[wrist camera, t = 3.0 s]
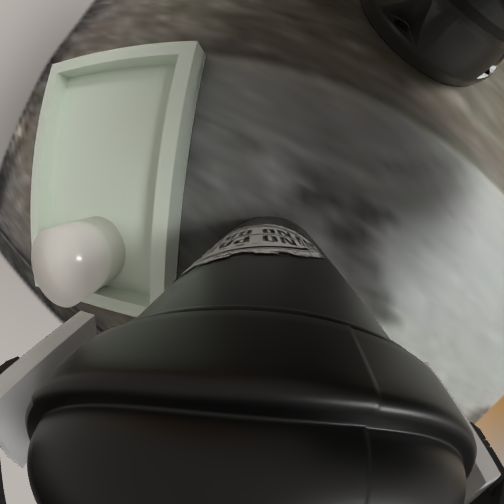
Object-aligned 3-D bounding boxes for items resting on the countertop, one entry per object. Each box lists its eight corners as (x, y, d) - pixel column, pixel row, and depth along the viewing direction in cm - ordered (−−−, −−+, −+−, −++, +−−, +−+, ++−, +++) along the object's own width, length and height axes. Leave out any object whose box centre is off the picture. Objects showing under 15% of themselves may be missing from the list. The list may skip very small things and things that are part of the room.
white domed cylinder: (74, 213, 22) (29, 223, 16) (126, 219, 22) (83, 233, 16) (75, 274, 23) (35, 297, 17) (125, 287, 23) (88, 316, 17)
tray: (69, 71, 19) (52, 64, 16) (206, 55, 19) (197, 40, 16) (52, 276, 25) (35, 285, 22) (175, 308, 24) (163, 324, 21)
